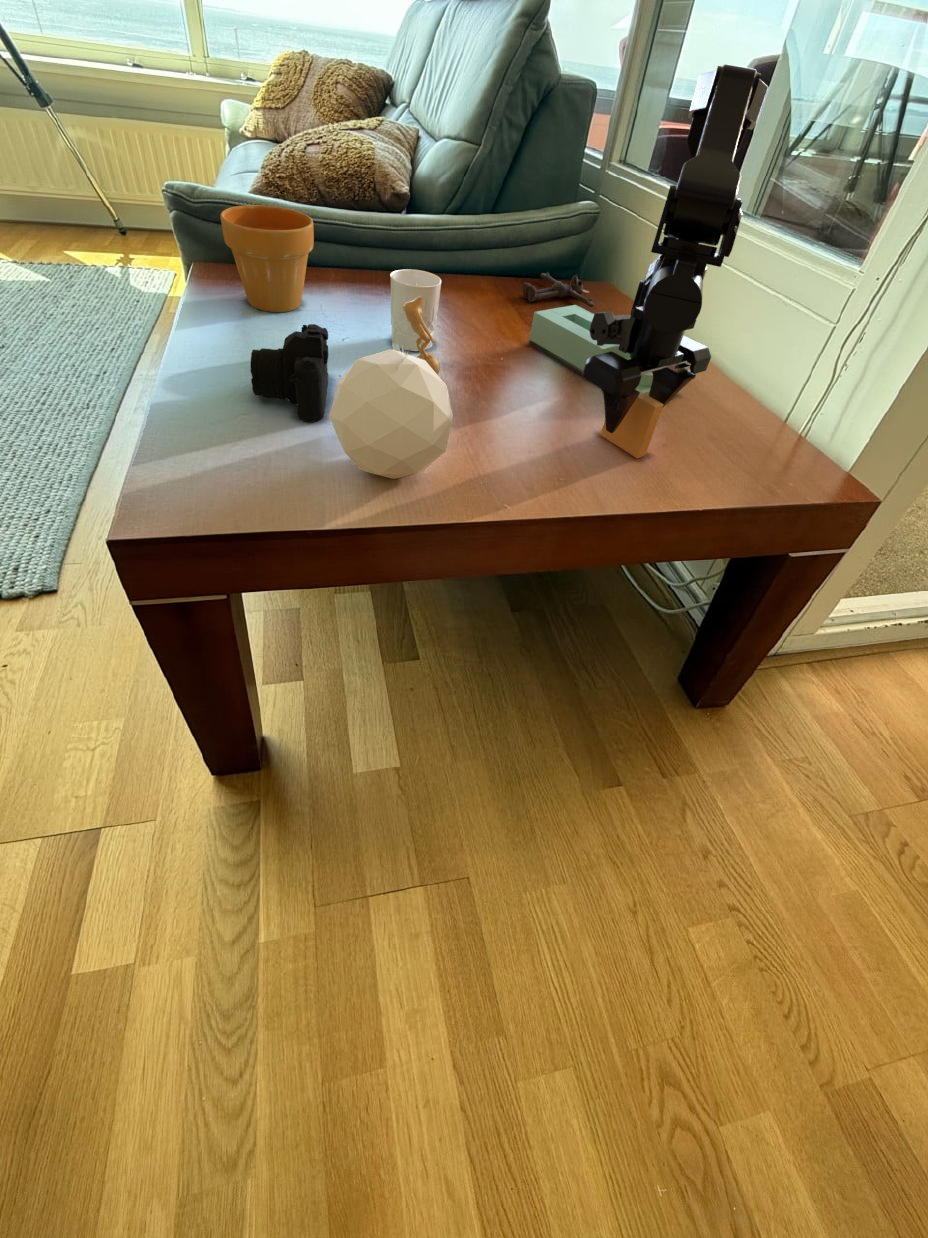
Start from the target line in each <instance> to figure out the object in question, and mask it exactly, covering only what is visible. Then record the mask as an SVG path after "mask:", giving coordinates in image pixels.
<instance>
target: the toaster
mask: <svg viewBox="0 0 928 1238" xmlns="http://www.w3.org/2000/svg"><path fill="white" fill-rule="evenodd" d="M594 314H595V313H592V312H590V311H588V310H587V309H585V308H583V307H581V306H579V305H577V304H573V305H566V306H562V307H561V306H560V307H555V308H549V309H543V310H537V311H534V312H533V317H532V323H531V327H530V333H529V338H528V343H527V345H528V346H529V347H532V348H533V349H535V350H537V351H538V352H539V353H541V354H544V355H546V356H547V357H548V358H550V359H552V360H554V361H556V362H557V363H558V364H561V365H562V366H564V367H566V368H568V369H569V370H571V371H573V372H574V373H576V374H578V375H579V376H581V377H582V374H583V370H584V366H585V362H586V360H587V359H589V358H590V357H592V356H594V355H598V354H603V353H607V352H611V351H612V352H614V353H616V354H618V355H619V356H621V357H623V358H625V359H627V358H630V354H629V353H624V352H622V351H620V350H618V349H619V345H620V344H619V345H616V344H604V345H603V346H598V345H597V340H592V338H591V337H590V332H589V330H590V325H591V322H592V319H593V317H594Z"/></svg>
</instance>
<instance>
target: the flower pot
mask: <svg viewBox="0 0 928 1238" xmlns="http://www.w3.org/2000/svg"><path fill="white" fill-rule="evenodd" d="M220 223H221V231H222V235H223V240H224V243H225V245H226V246H227V247H228V248H229V249H230V250H231V252H232V256H233V258H234V262H235V265H236V268H237V272H238V275H239V277H240V281H241V283H242V287H243V290H244V293H245V297H246V299H247V302H248V303H249V304H250V306H251V307H252V308H255V309H257V310H260V311H264V312H269V313H286V312H291V311H294V310H296V309H298V308H300V307H301V304H302V300H303V293H304V286H305V281H306V280H305V279H306V274H307V273H306V272H307V265H308V260H309V259H308V258H309V253H311V252H312V251H313V249H314V247H315V246H314V244H315V243H314V242H315V234H314V233H315V232H314V231H315V229H314V221H313V219H312V217H310V216H309V215H307V214H306V213H303V212H301V211H298V210H295V209H292V208H286V207H281V206H273V205H259V204H252V205H251V204H250V205H249V204H246V205H236V206H231V207H228V208H226V209H224V210H222V211H221V213H220Z"/></svg>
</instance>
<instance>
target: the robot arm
mask: <svg viewBox="0 0 928 1238" xmlns="http://www.w3.org/2000/svg"><path fill="white" fill-rule="evenodd" d="M761 76H762V73H761V72H758V71H757V69H756V68H751V67H746V66H741V65H740V66H739V65H734V64H729V63H724V64H723V65H717V67H716V70H712V71H709V72H705V73H701V74H699V76H698V80H697V82H696V83H697V84H696V87H695V91H694V94H693V97H692V101H691V104H690V107H689V110H688V114H687V118H688V119H691V123H690V126H689V130H688V134H687V138H686V142H687V143H686V144H687V147H688V152H689V156H690V159H689V160H687V161H685V162H684V163H683V165H682V168H681V172H680V175H679V178H678V182H677V185H674V184H670V186H669V189H668V193H667V196H666V200H665V203H664V206H663V209H662V213H661V216H660V218H659V219H660V220H659V223H658V227H657V230H656V233H655V237H654V241H653V244H652V247H651V251H650V253H651V254H652V253H653V254H657V255H658V256H657V258H656V259H654V261H652V262H651V263H650V264H649V265H648V268H647V271H646V274H645V278H644V279H640V280H639V283H638V287H637V290H636V293H635V297H634V300H633V303H632V307H631V311H630V314H617V315H614V313H613V311H606V312H605V311H599V312H595V313H593V314H594V317H593V319H592V322H591V325H590V330H589V332H590V337H591V338H592V340H597V345H598V346H603V345H604V344H616V345H619V344H620V345H619V349H618V350H620V351H622V352H624V353H629V354H630V358H631V359H628V360H627V359H625V358H623V357H621V356H619V355H618V354H616V353H614V352H612V351H611V352H607V353H603V354H598V355H594V356H592V357H590V358H589V359H587V360H586V362H585V366H584V370H583V374H582V376H581V377H582V379H584V380H586V381H588V382H590V383H591V384H592V385H594V386H596V387H598V388H600V390H601V392H602V396H603V402H604V403H603V405H604V421H605V422H606V430H607V431H608V432H610V433H614V431H615V430H616V429H617V427H618V426H619V425H620V423H621V422H622V420H623V418H624V417H625V415H626V414H627V412H628V411H629V409H630V408H631V406H632V405H633V403H634V402H635V400H636V399H637V397H638V395H639V394H640V392H639V391H637V390H635V389H636V388H637V386H638V385H639V383H640V380H641V377H642V376H641V374H645V373H649V372H652V374H653V381H652V384H651V388H650V392H649V397H651V398H653V399H655V400H657V401H658V402H660V403H662V404H663V408H665V406H667V405H668V404H669V402H670V401H672V400H673V398H675V396H676V395H678V393H680V392H681V390H683V389H684V388H685V387H686V386H687V385H688V384H689V383H690V382H691V381H693V380H695V378H696V376H697V374H700V373H703V372H706V371H707V369H708V366H709V364H710V361H711V359H712V354H711V351H710V349H709V346H707V345H704V344H703V343H700V342H698V341H696V340H694V339H692V338H690V337H688V336H686V335H685V333H686V331H688V330H692V329H694V327H695V325H696V323H697V319H698V317H699V315H700V313H701V310H702V308H703V307H702V306H703V289H704V279H705V277H706V274H707V270H708V266H707V265H709V266H713V267H717V268H718V267H719V268H721V267H722V266H723V262H724V259H725V257H726V258H729V257H730V255H731V253H732V251H733V248H734V246H735V245H734V244H735V241H736V238H737V234H738V230H739V228H740V227H739V226H740V224H741V220H742V216H743V211H742V208H741V207H742V205H743V201H742V198H739V197H737V196H738V193H739V188H740V183H741V179H742V174H741V172H740V170H739V169H738V167H737V166H736V164H735V163H734V160H735V156H736V153H738V152H739V150H740V149H741V147H742V144H743V141H744V139H745V136H746V133H747V130H751V131H752V130H753V129H754V127H755V126H756V124H757V123H758V120H759V116H760V114H761V111H762V107H763V104H764V103H765V99H766V97H767V96H766V95H767V93H768V90H769V86H768V85H767V84H766V83H765V82H764V81H763V80H762V79H761ZM662 233H663V235H664V236H663V239H662V241H660V240H661V236H662ZM719 243H720V244H719ZM718 245H719V248H718V247H717V246H718ZM717 250H718V251H717Z"/></svg>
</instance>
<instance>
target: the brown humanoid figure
mask: <svg viewBox="0 0 928 1238" xmlns="http://www.w3.org/2000/svg"><path fill="white" fill-rule="evenodd" d="M540 277H541V278H542V279H543V280H545V281H547V282H549V283H551V284H552V286H551V287H544V288H540V289H537V288H536V287H535V285H532V284H531V283H530V282H523V284H522V297H523V299H525V300H528V302H529V303H533V302H535V301H539V300H542V301H543V300H545V299H548V298H553V297H555V298H558V299H559V298H560V299H561V298H564V297H572V298H574V299H576V300H579V301H580V302H581V303H583V304H584V305H586V306H587V307H589V308H593V307H595V305H596V304H595V302H593V297H592V298H591V297H590V298H587V297H585V296H583V295H582V294H587V295H588V294H590V290H585V289H584V285H583V281H582V280H581V279H579V278H578V277H579V275H578V274H575V275H573V276H572V277H571V280H570V283H567V282H565V281H561V280H560V281H559V280H556V279H555V278H553V277H552V276H551V275H550V273H549V271H547V272H546V273H545V272H541V273H540Z"/></svg>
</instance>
